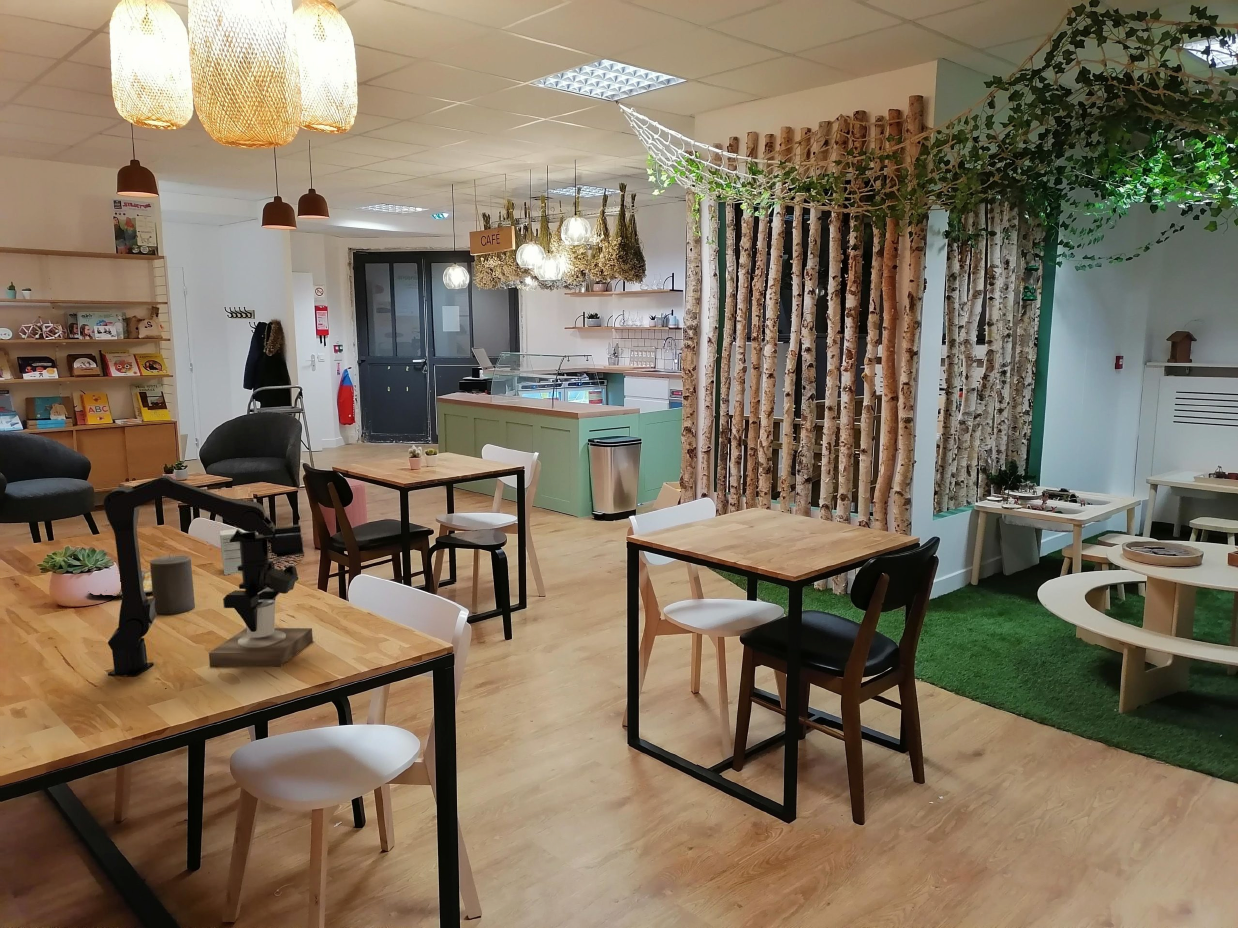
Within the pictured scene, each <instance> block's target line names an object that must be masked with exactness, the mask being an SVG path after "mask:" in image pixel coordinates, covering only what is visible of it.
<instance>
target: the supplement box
mask: <svg viewBox="0 0 1238 928" xmlns="http://www.w3.org/2000/svg"><path fill="white" fill-rule="evenodd" d="M237 529H239V530H240V531H241V532H243V533H244V532H247V531H244V530H242V529H240V528H234V529H233V528H231V529H225V530H219V539H220V541H219V542H220V550H221V560H222V566H223V569H222V570H223V575H224V576H229V575H228V574H232V575H236V574H235V573H240V574H242V571H238V567H237V566H239V565H241V555H240V543H239V542H230V538H231V536H232V535H234V534H235V532H236V530H237Z"/></svg>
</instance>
